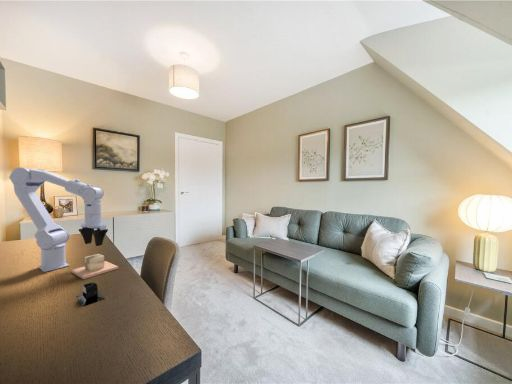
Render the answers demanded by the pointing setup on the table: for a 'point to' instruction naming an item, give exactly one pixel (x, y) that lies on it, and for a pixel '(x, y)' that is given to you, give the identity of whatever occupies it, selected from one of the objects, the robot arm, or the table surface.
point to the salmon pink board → (87, 274)
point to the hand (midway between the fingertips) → (93, 244)
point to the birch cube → (94, 262)
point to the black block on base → (90, 294)
